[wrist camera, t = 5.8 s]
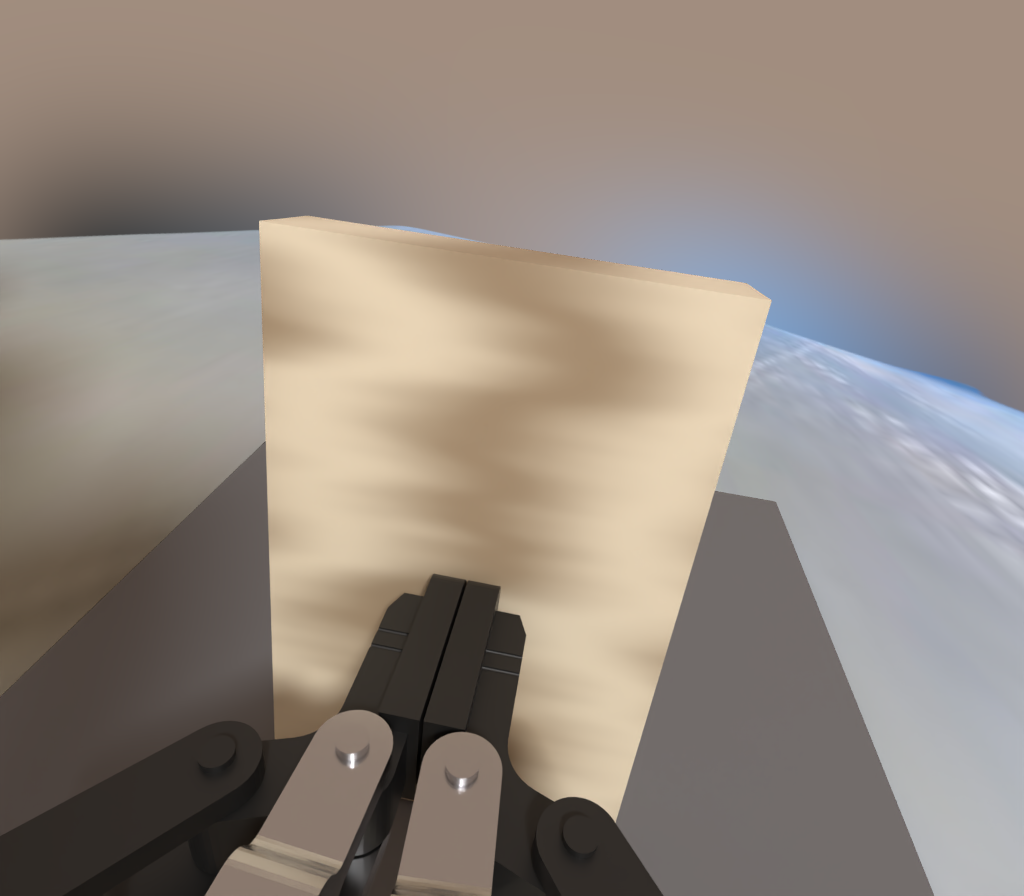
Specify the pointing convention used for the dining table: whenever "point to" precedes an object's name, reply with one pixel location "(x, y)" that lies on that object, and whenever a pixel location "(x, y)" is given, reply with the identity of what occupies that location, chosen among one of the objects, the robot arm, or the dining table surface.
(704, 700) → the rubber mat
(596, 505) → the birch tile
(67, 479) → the dining table surface
